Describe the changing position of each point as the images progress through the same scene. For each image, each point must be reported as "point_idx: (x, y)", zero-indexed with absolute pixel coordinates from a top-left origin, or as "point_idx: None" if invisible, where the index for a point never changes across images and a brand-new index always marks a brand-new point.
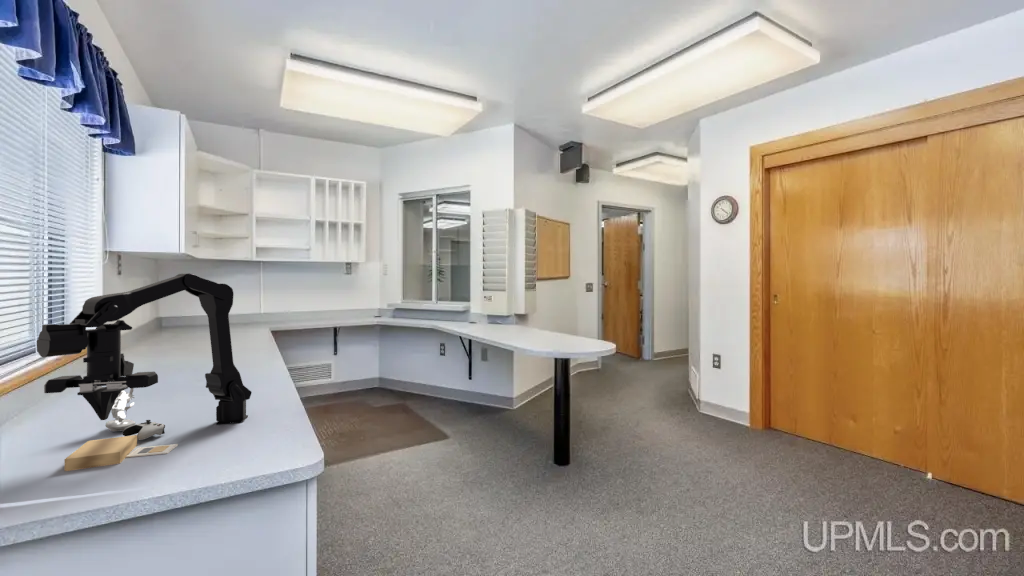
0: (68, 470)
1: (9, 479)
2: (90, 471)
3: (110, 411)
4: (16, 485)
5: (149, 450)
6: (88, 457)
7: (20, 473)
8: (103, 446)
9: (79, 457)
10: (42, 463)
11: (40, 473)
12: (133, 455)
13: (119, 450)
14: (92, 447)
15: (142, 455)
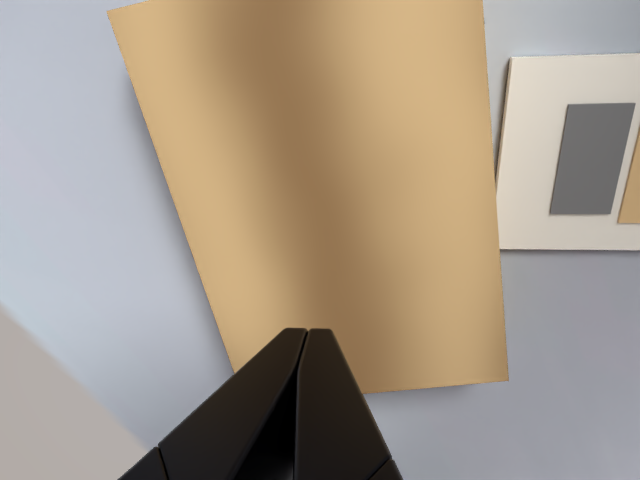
0: None
1: (83, 382)
2: (392, 398)
3: (356, 381)
4: None
5: (618, 177)
6: None
7: (61, 322)
8: (337, 228)
9: None
10: (37, 195)
11: (162, 351)
12: (534, 245)
13: (494, 353)
14: (268, 227)
15: (588, 247)
